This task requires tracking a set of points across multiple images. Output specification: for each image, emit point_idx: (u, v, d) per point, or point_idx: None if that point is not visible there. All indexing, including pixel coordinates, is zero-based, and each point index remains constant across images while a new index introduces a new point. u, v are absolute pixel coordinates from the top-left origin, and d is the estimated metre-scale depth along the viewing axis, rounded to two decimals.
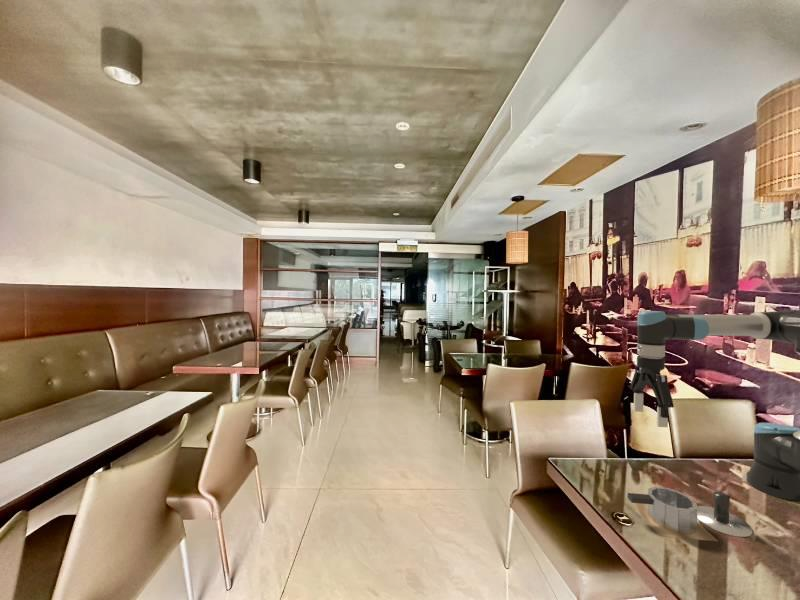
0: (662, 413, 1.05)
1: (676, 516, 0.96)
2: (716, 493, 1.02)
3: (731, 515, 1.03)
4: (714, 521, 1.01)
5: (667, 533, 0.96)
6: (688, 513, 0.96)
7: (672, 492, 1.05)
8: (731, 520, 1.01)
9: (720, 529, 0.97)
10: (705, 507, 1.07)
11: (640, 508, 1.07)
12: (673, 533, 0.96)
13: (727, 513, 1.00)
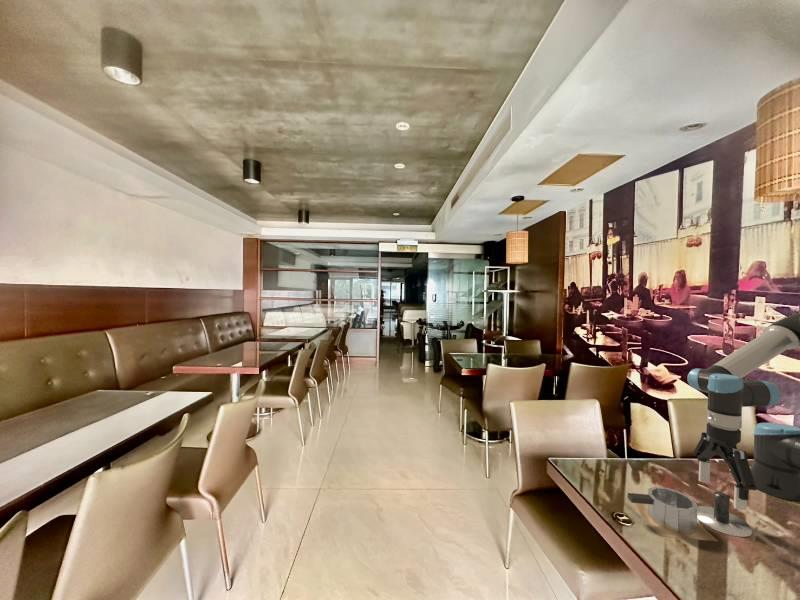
0: (741, 494, 0.93)
1: (676, 516, 0.96)
2: (716, 493, 1.02)
3: (731, 515, 1.03)
4: (714, 521, 1.01)
5: (667, 533, 0.96)
6: (688, 513, 0.96)
7: (672, 492, 1.05)
8: (731, 520, 1.01)
9: (720, 529, 0.97)
10: (705, 507, 1.07)
11: (640, 508, 1.07)
12: (673, 533, 0.96)
13: (727, 513, 1.00)
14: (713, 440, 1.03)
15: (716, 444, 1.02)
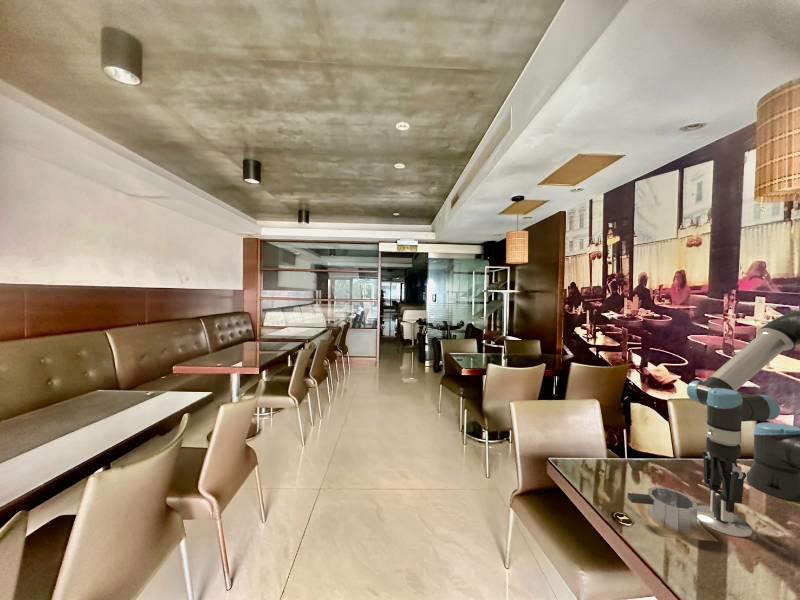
0: (727, 507, 0.98)
1: (676, 516, 0.96)
2: (716, 492, 1.02)
3: None
4: (714, 520, 1.01)
5: (667, 533, 0.96)
6: (688, 513, 0.96)
7: (672, 492, 1.05)
8: None
9: (720, 528, 0.97)
10: (705, 506, 1.07)
11: (640, 508, 1.07)
12: (673, 533, 0.96)
13: None
14: (713, 454, 1.03)
15: (716, 459, 1.02)
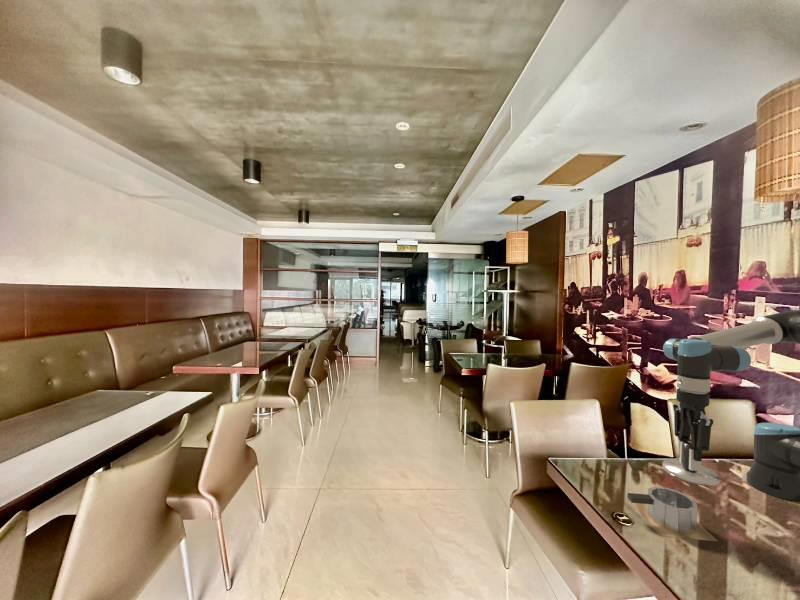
0: (695, 456, 0.98)
1: (676, 516, 0.96)
2: (685, 443, 1.02)
3: None
4: (682, 470, 1.00)
5: (667, 533, 0.96)
6: (688, 513, 0.96)
7: (672, 492, 1.05)
8: None
9: (687, 476, 0.97)
10: (675, 459, 1.07)
11: (640, 508, 1.07)
12: (673, 533, 0.96)
13: None
14: (683, 405, 1.03)
15: (686, 409, 1.01)
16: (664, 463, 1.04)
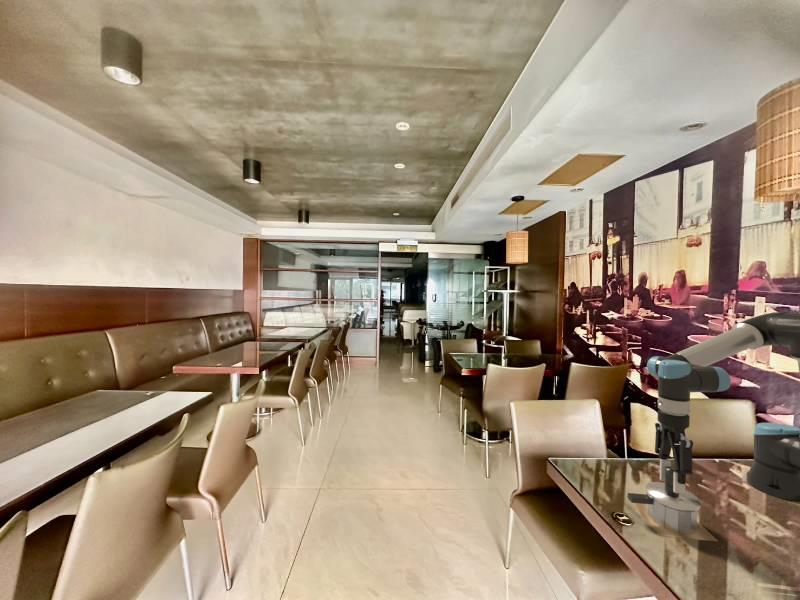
0: (679, 479, 0.97)
1: (676, 516, 0.96)
2: (667, 468, 1.02)
3: None
4: (664, 495, 1.01)
5: (667, 533, 0.96)
6: (688, 513, 0.96)
7: None
8: (681, 494, 1.01)
9: (668, 502, 0.97)
10: (658, 483, 1.07)
11: (640, 508, 1.07)
12: (673, 533, 0.96)
13: None
14: (664, 426, 1.03)
15: (667, 430, 1.02)
16: (647, 487, 1.05)
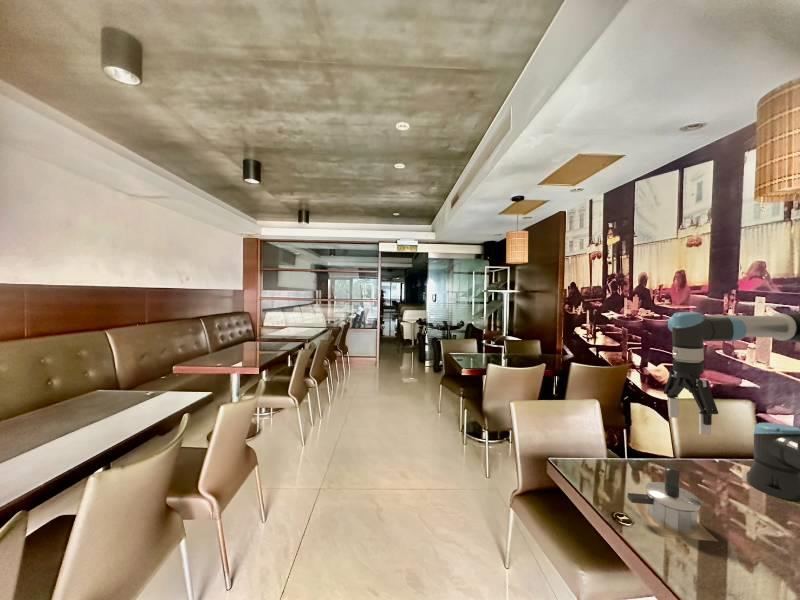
0: (705, 420, 0.99)
1: (676, 516, 0.96)
2: (667, 468, 1.02)
3: (682, 490, 1.03)
4: (664, 495, 1.01)
5: (667, 533, 0.96)
6: (688, 513, 0.96)
7: None
8: (681, 494, 1.01)
9: (668, 502, 0.97)
10: (658, 483, 1.07)
11: (640, 508, 1.07)
12: (673, 533, 0.96)
13: (677, 487, 1.00)
14: (679, 375, 1.09)
15: (682, 378, 1.08)
16: (647, 487, 1.05)
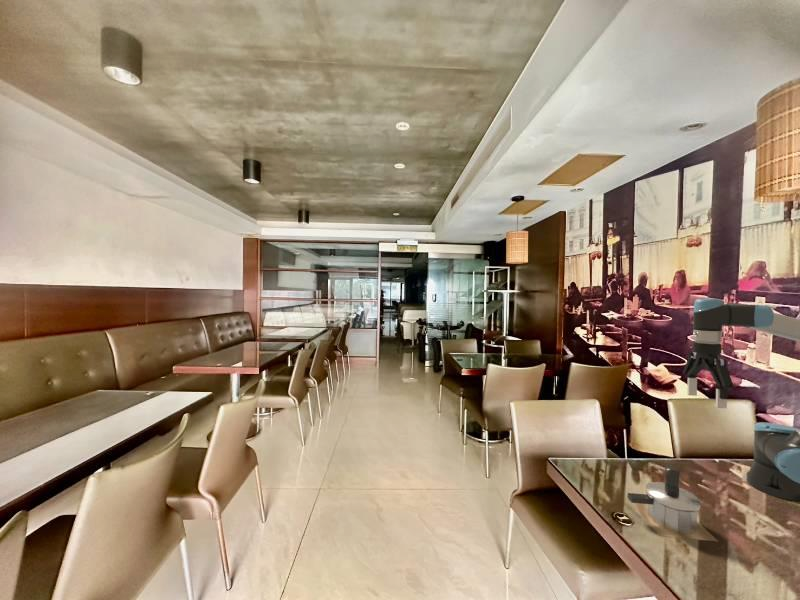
0: (721, 395, 1.10)
1: (676, 516, 0.96)
2: (667, 468, 1.02)
3: (682, 490, 1.03)
4: (664, 495, 1.01)
5: (667, 533, 0.96)
6: (688, 513, 0.96)
7: None
8: (681, 494, 1.01)
9: (668, 502, 0.97)
10: (658, 483, 1.07)
11: (640, 508, 1.07)
12: (673, 533, 0.96)
13: (677, 487, 1.00)
14: (699, 356, 1.20)
15: (701, 358, 1.18)
16: (647, 487, 1.05)
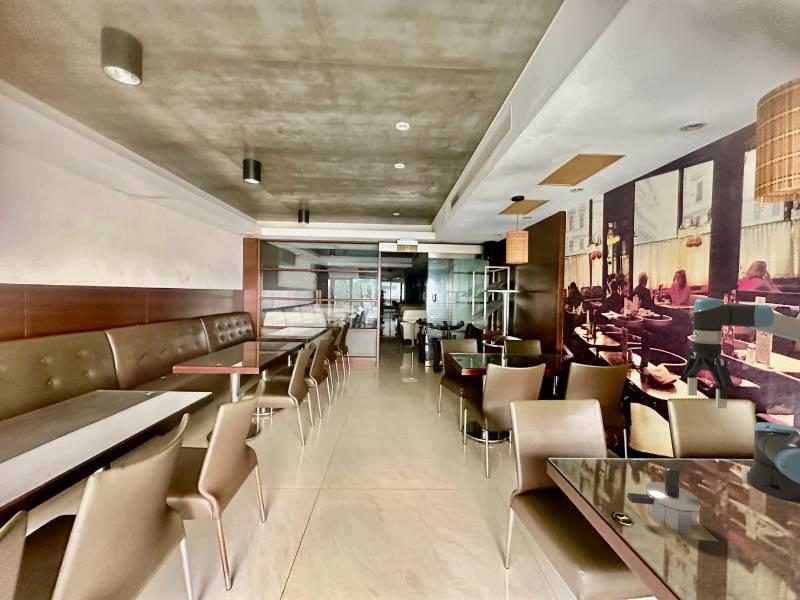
0: (721, 395, 1.10)
1: (676, 516, 0.96)
2: (667, 468, 1.02)
3: (682, 490, 1.03)
4: (664, 495, 1.01)
5: (667, 533, 0.96)
6: (688, 513, 0.96)
7: None
8: (681, 494, 1.01)
9: (668, 502, 0.97)
10: (658, 483, 1.07)
11: (640, 508, 1.07)
12: (673, 533, 0.96)
13: (677, 487, 1.00)
14: (699, 356, 1.20)
15: (701, 358, 1.18)
16: (647, 487, 1.05)
